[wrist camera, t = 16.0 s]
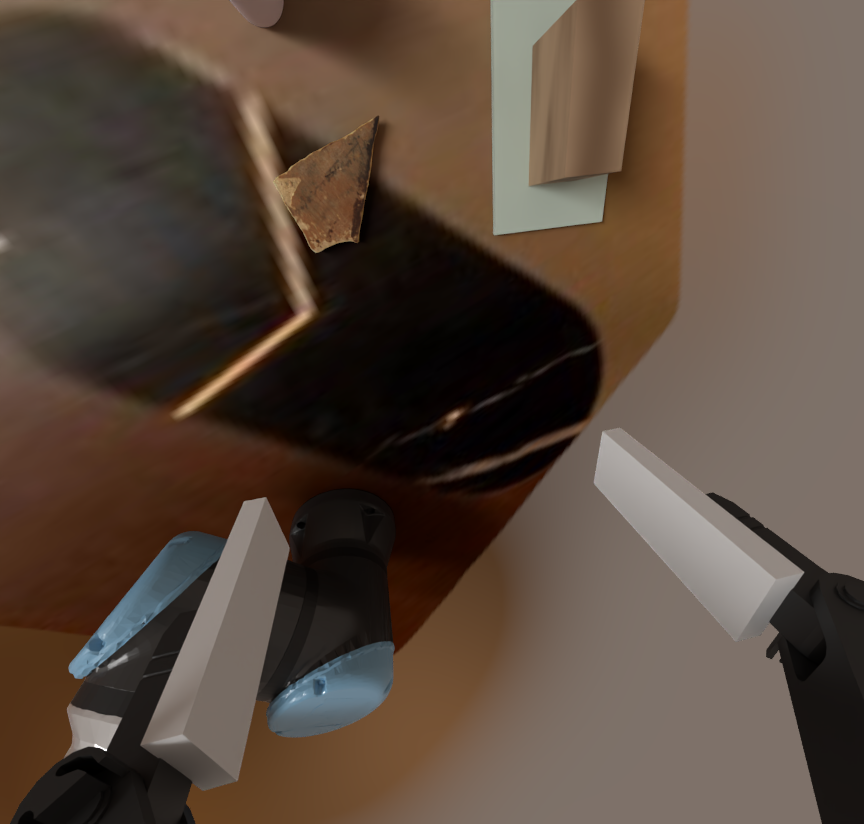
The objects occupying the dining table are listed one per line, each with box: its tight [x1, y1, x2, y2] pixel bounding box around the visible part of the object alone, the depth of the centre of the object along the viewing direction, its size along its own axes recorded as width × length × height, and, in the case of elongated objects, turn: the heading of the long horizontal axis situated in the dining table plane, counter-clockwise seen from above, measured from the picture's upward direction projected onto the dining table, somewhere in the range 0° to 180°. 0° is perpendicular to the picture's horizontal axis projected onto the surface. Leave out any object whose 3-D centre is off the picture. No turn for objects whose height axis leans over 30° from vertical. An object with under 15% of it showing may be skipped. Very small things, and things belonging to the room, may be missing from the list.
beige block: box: [529, 0, 645, 186], centre depth 29 cm, size 5×10×7 cm, turn 6°
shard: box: [273, 116, 379, 253], centre depth 32 cm, size 11×8×2 cm
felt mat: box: [491, 0, 608, 235], centre depth 32 cm, size 18×12×1 cm, turn 6°
